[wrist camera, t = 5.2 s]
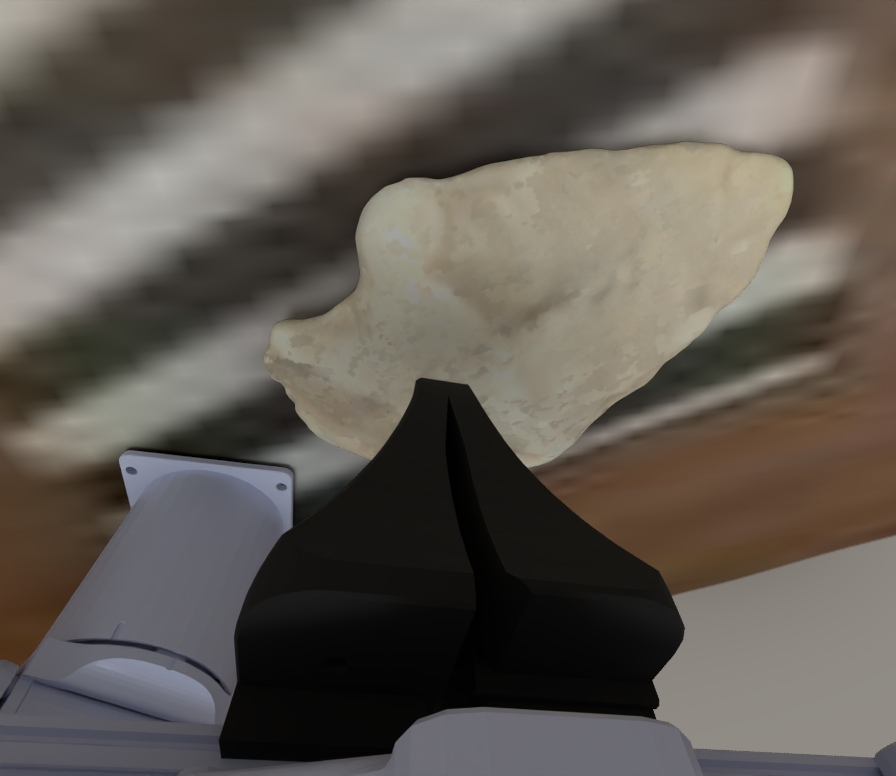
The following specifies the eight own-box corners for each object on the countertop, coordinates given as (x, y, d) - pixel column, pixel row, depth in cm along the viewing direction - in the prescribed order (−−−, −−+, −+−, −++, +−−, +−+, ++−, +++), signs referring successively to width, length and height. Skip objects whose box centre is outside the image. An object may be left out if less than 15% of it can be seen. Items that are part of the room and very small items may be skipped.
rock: (207, 287, 19) (719, -29, 14) (390, 493, 26) (781, 324, 21) (165, 330, 16) (801, -56, 11) (385, 552, 23) (843, 369, 18)
